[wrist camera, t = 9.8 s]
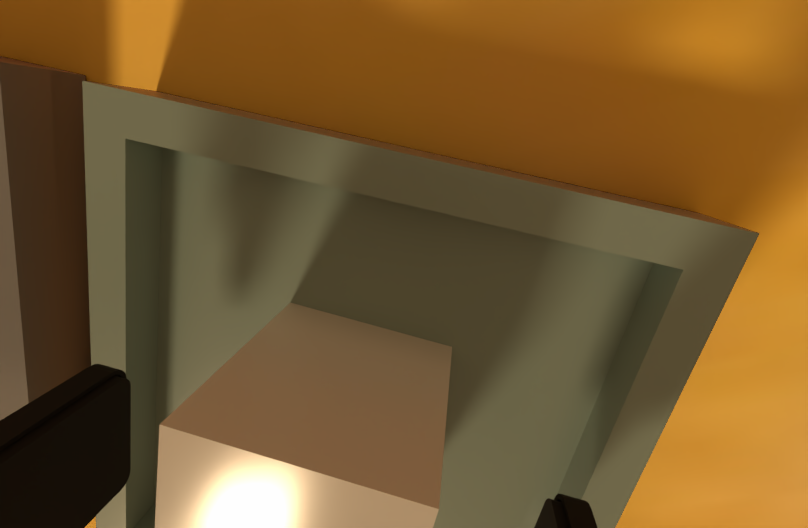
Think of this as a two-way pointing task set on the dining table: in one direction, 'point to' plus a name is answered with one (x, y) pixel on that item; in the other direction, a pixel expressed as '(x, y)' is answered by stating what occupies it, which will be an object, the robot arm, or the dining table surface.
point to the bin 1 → (41, 232)
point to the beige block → (310, 431)
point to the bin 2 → (398, 290)
